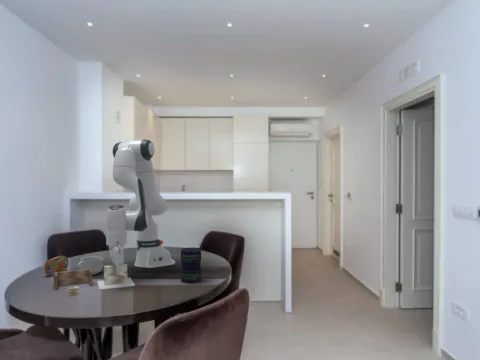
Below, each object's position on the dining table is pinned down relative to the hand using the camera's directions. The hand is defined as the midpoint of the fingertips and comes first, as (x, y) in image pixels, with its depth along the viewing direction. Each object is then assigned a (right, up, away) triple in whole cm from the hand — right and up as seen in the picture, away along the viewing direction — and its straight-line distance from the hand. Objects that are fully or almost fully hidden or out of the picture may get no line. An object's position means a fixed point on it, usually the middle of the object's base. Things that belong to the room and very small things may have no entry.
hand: (116, 270), depth 168 cm
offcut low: (-12, -7, -16) cm, 21 cm away
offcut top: (-13, -5, -16) cm, 21 cm away
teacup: (-20, -6, +17) cm, 26 cm away
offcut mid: (-13, -6, -16) cm, 21 cm away
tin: (-37, -6, +18) cm, 42 cm away
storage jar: (+33, -6, +5) cm, 35 cm away
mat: (0, -6, 0) cm, 6 cm away
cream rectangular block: (0, -6, 0) cm, 6 cm away
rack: (-18, -6, -3) cm, 20 cm away
